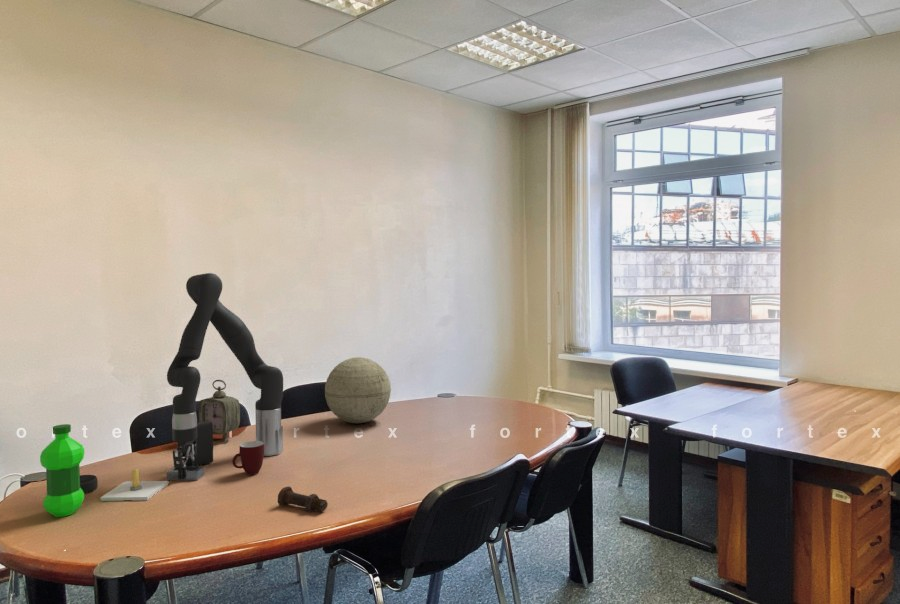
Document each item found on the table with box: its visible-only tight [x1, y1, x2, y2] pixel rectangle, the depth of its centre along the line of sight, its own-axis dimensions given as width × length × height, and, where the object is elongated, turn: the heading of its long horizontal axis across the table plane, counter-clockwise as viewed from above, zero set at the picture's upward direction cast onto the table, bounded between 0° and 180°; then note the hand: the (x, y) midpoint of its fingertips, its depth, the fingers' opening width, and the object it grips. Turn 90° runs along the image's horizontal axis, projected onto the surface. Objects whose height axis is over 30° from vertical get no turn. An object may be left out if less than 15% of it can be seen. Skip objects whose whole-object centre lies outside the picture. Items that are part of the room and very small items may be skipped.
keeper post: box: [99, 468, 170, 502], centre depth 183 cm, size 14×14×7 cm
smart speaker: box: [80, 474, 99, 495], centre depth 185 cm, size 9×9×4 cm
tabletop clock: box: [198, 379, 241, 444], centre depth 242 cm, size 14×9×25 cm, turn 68°
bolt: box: [277, 486, 329, 513], centre depth 170 cm, size 6×5×15 cm
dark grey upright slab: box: [186, 421, 214, 466], centre depth 210 cm, size 9×4×15 cm, turn 134°
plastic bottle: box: [39, 423, 85, 518], centre depth 167 cm, size 10×10×25 cm
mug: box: [231, 440, 265, 476], centre depth 200 cm, size 10×8×10 cm
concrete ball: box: [324, 356, 392, 424], centre depth 270 cm, size 30×30×30 cm
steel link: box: [166, 465, 205, 481], centre depth 197 cm, size 10×6×3 cm, turn 91°
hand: (185, 475), depth 197 cm, fingers closed on steel link, 5 cm apart
